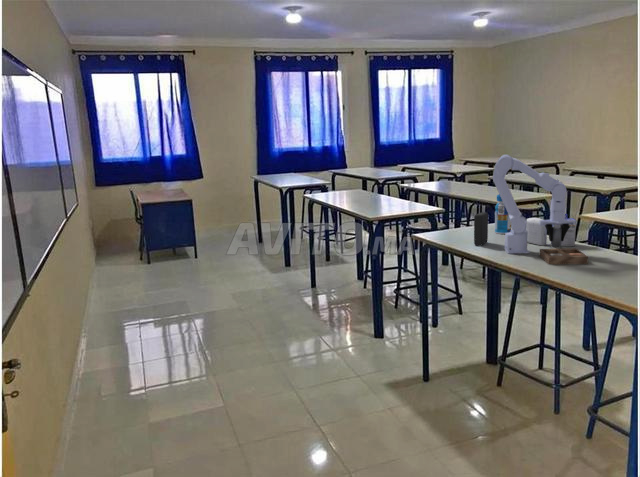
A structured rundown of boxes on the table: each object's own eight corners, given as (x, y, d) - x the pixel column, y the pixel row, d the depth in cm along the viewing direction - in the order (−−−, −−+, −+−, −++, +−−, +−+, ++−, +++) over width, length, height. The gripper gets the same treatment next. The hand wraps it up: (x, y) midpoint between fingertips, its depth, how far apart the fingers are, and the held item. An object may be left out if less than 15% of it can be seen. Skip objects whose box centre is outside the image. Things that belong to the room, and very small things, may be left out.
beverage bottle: (491, 231, 278) (491, 194, 274) (505, 230, 280) (506, 193, 275) (500, 235, 270) (501, 196, 266) (514, 233, 272) (515, 195, 267)
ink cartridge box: (572, 243, 246) (573, 213, 242) (575, 246, 240) (577, 215, 237) (549, 243, 248) (551, 213, 244) (552, 246, 242) (553, 215, 239)
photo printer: (547, 244, 246) (548, 218, 243) (542, 246, 244) (543, 220, 241) (529, 240, 255) (530, 216, 252) (523, 242, 253) (524, 217, 250)
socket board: (548, 264, 215) (549, 256, 215) (539, 255, 229) (539, 248, 228) (587, 263, 213) (587, 255, 212) (575, 254, 227) (576, 247, 226)
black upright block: (480, 241, 260) (480, 211, 256) (488, 242, 257) (488, 212, 254) (472, 245, 253) (473, 214, 249) (480, 246, 250) (481, 215, 247)
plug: (552, 247, 229) (553, 227, 227) (549, 245, 233) (550, 225, 231) (562, 247, 229) (563, 227, 227) (559, 245, 233) (560, 225, 231)
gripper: (542, 212, 224) (541, 243, 227) (578, 211, 222) (576, 242, 225) (538, 209, 231) (537, 239, 234) (573, 208, 229) (571, 238, 232)
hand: (556, 240), depth 230 cm, fingers closed on plug, 4 cm apart
